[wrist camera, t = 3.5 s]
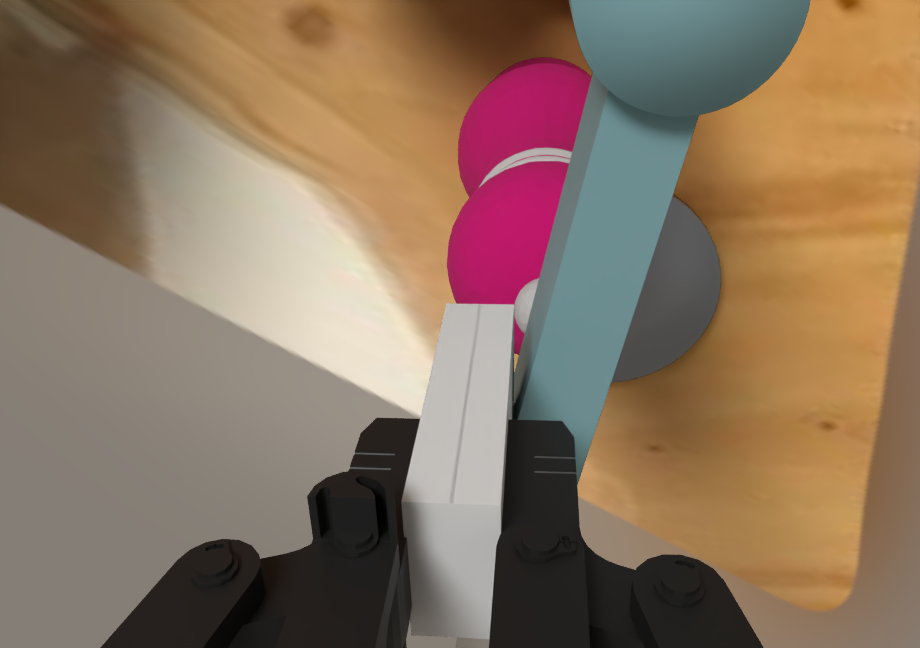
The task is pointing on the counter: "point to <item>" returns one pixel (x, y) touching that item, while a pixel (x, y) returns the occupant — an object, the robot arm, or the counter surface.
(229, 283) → the counter surface
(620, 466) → the counter surface
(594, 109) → the pegged blue crossbar
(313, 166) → the counter surface
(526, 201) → the pepper mill
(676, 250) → the slate coaster
